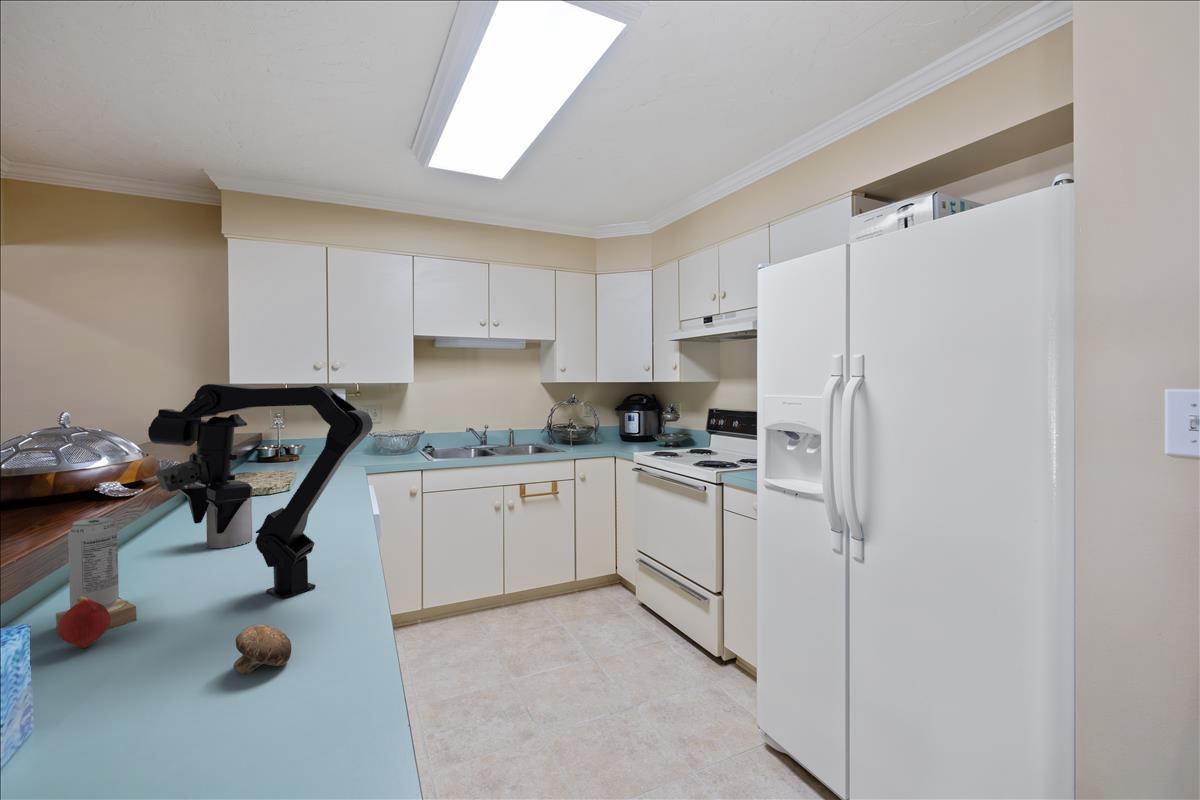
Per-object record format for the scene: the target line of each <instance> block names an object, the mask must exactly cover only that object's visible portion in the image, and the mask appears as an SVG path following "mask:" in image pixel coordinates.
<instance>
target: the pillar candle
mask: <svg viewBox="0 0 1200 800" xmlns="http://www.w3.org/2000/svg"><path fill="white" fill-rule="evenodd" d="M252 499H253V498H252V497H251V498H248V500H247V501H244V503H243V504H242V506H241V507H240V508H239V510H238V511H237V512H236V514H235V515H234V517H233V518H232V520H231V522H230V523H229V525H228V526H227V528H226V529H225V531H224V532H223V533H220V534H217V533H216V528H215V515H214V507H213V506H212V505H211V504H210V503H209V506H208V508H207V511H206V513H205V515H206V516H205V517H206V547H207V548H208V547H210V548H209V549H212V548H222V549H226V548H225V547H231V548H233V547H232V546H236V547H238V546H237V545H240V546H242V545H241V544H243V545H245V544H244V543H247V544H249V543H248V542H250V541H251V540H252V541H253V515H252V514H253V513H252V512H253V511H252V510H253V509H252V507H253V505H252V504H253V503H252V502H253V500H252ZM252 541H251V542H252ZM251 542H250V543H251Z"/></svg>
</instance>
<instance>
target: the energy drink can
mask: <svg viewBox="0 0 1200 800" xmlns="http://www.w3.org/2000/svg"><path fill="white" fill-rule="evenodd" d="M67 542H68V543H67V544H68V546H67V547H68V548H67V549H68V575H69V577H68V578H69V580H68V581H69V582H68V583H69V607H70V608H72V607H73V606H74V605H76V604H77V603H78V600H77V599H78V598H79V597H86V598H87V599H89V600H91V601H95V602H98V603H100V604H101V605H103V606H104V607H105V608H106V609H108V608H110V607H112V606H114V605H115V601H116V600H118V598H120V594H119V593H120V590H119V589H120V588H119V584H120V583H119V558H118V557H119V551H118V550H119V549H118V548H119V547H118V527H117V525H116V524H115V523H114V522H113V517H110V516H109V517H108V516H107V517H106V516H103V517H93V518H92V517H91V518H85V519H80V520H75V521H74V522H72V527H71V528H70V530H69V531H68V533H67ZM70 608H69V609H70Z"/></svg>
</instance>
